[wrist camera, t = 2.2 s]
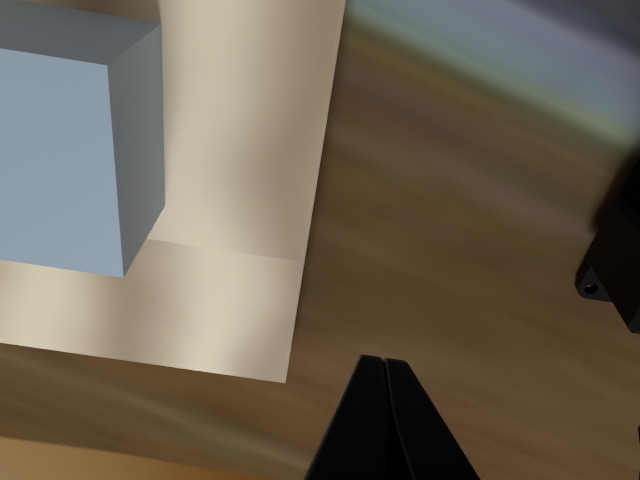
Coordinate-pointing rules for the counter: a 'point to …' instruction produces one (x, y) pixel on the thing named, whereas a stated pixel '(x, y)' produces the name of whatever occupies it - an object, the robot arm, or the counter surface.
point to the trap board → (207, 197)
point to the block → (79, 137)
